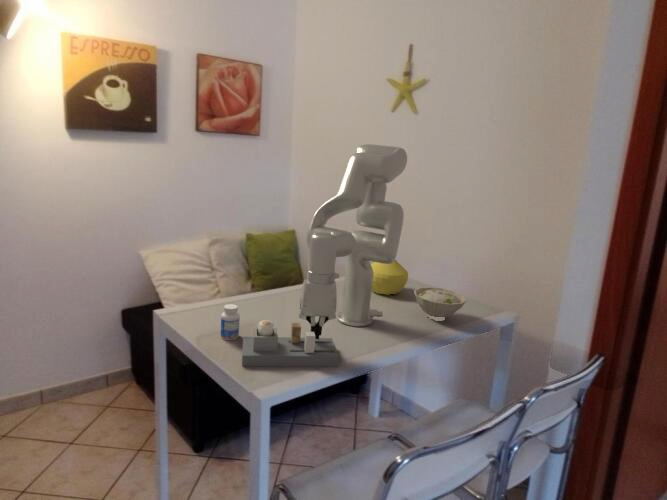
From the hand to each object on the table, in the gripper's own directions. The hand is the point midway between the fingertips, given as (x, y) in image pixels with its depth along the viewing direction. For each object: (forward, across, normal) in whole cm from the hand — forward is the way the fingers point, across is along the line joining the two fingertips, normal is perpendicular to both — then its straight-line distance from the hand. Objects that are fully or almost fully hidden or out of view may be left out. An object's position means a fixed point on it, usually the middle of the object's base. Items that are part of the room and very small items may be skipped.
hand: (315, 337), depth 137 cm
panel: (+4, +8, +3) cm, 9 cm away
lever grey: (+1, +3, +6) cm, 7 cm away
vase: (+6, -37, -58) cm, 69 cm away
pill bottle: (+5, +25, -9) cm, 27 cm away
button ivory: (-2, +15, +3) cm, 15 cm away
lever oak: (+1, +6, 0) cm, 6 cm away
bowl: (+5, -49, -29) cm, 58 cm away
